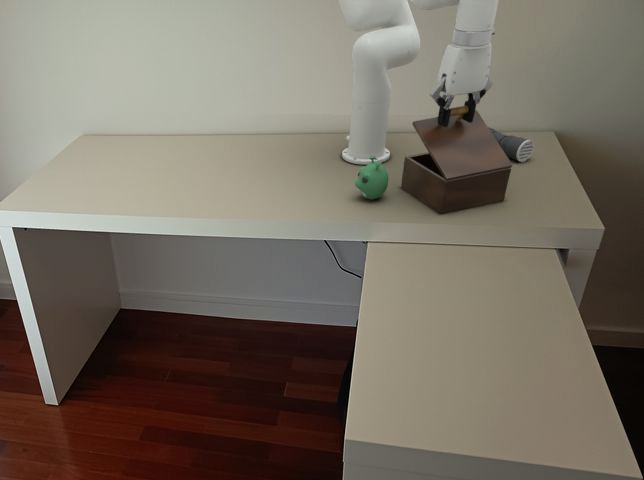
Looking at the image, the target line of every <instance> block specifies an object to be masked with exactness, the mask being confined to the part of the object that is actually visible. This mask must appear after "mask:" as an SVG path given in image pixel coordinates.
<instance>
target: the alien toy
mask: <svg viewBox="0 0 644 480" xmlns="http://www.w3.org/2000/svg"><path fill="white" fill-rule="evenodd" d="M369 159H370V160H372V164H368V165H364V166H362V167H360V169H359V172H358V173H357V177H358V178H357V179H356V180H355V181H354V185H355V187H356V188H357V189H358V190H359V191H360V194H361V196H362V197H363V198H365V199H367V200H376V199H378V198H381V197H382V196H383V195H384V194H385V192H386V191H387V189H388V186H389V179H390V178H389V173H388V171H387V169H386V167H385V166H384V165H383V162H382V163H381V162H380V161H376V162H375V163H374V159H376V157H375V156H371V157H369Z"/></svg>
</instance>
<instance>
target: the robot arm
mask: <svg viewBox="0 0 644 480" xmlns="http://www.w3.org/2000/svg"><path fill="white" fill-rule="evenodd" d="M337 2H338V4H339V8H340V10H341V13H342V16H343V18H344V22H345V23H346V25H347V27H348V28H349V30H351V31H352V32H362V31H363V32H364V31H368V30H371V31H368V32H366V33H364V34H362V35H361V36H359V37H358V38H357V39H356V40H355V42H354V43H353V46H352V50H351V64H352V72H353V73H352V76H353V81H352V83H353V85H352V98H351V99H352V100H351V111H350V112H351V113H350V124H349V135H346V137H345V140H346V141H347V142H348V146H347V147H346V148H344V149H343V150H342V152H341V158H342V159H343V160H344V161H346V162H348V163H350V164H353V165H354V164H355V165H361V166H363V165H364V166H367V165H368V164H372V160H370V159H369V157H371V156H375V157H376V159H374V163H375V162H376V161H380V162H381V163H382V164H383V163H385V162H386V161H388V160H390V157H391V152H390V150H389V149H388V148H387V147H386V139H387V132H388V131H387V130H388V121H389V115H390V114H389V113H390V107H391V105H390V104H391V96H392V85H391V82H390V81H391V80H390V79H389V77H388V74H387V71H388V70H392V69H395V68H399V67H402V66H406V65H408V64H410V63H412V62H414V60H415V59H417V57H418V55H419V53H420V50H421V37H420V33H419V30H418V26H417V24H416V21H415V18H414V16H413V12H412V10H411V6H410V4H409V0H337ZM410 2H411V3H412V4H413V5H415V6H416V7H417V8H420V9H421V10H424V11H433V10H438V9H443V8H447V7H453V6H457V10H456V16H455V22H454V27H453V33H452V38H451V43H449V44H447V46H446V48H445V50H444V54H443V56H442V60H441V62H440V66H439V70H438V74H437V79H436V83H435V86H434V87H433V88H432V90H430V91H429V96H430V97H431V98H432V100H434V102H435V103H436V104H437V106H438V108H439V109H438V113H437V114H438V115H437V117H438V124H439V125H441V126H443V127H447V126H448V124H449V119H450V114H451V109H449V108H451V105H452V103H453V101H454V98H455V96H462V95H467V100H465V101H464V105H467V106H468V107H469V111H468V113H466V114H464V116H463V117H462V119H463V120H465V121H467V122H469V123H471V122H473V117H474V113H475V110H477V109H476V108H477V105H479V104H480V103H481V99H482V98H484V96H485V95H486V93H487V92H489V90H490V89H491V88H492V87H493V85H494V83H493V81H492V80H491V78H490V76H489V75H490V69H491V62H492V50H493V49H492V48H493V47H492V43H491V39H492V36H494V35H495V34H496V28H495V27H494V24H495V20H496V15H497V11H498V6H499V2H500V0H410ZM377 28H380V29H377ZM373 29H376V30H373ZM464 105H463V106H464Z"/></svg>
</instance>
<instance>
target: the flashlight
mask: <svg viewBox="0 0 644 480" xmlns="http://www.w3.org/2000/svg"><path fill="white" fill-rule="evenodd" d="M487 127H488V128H489V130H490V131H491V133H492V134H493V136H494V137H495V139H496V140H497V142H498V143H499V145H500V147H501V148H502V150H503V151H504V153H505V154H506V156H507V157H508V158H509V159H512V160H515V161H518V162H521V163H524V162H525V161H527V160H528V159H530V157H531V156H532V154H533V152H534V149H535V143H534V141H533V140H531V139H528V138H524V137H522V136H521V137H518V136H515V135H512V134H511V135H507V134H505V133H502V132H500V131H497V130H496V129H494V128H492V127H489V126H487Z"/></svg>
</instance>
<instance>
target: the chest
mask: <svg viewBox="0 0 644 480" xmlns="http://www.w3.org/2000/svg"><path fill="white" fill-rule="evenodd" d="M511 172H512V167H511V168H507V169H502V170H497V171H492V172H487V173H482V174H477V175H473V176H468V177H463V178H458V179H453V180H448V181H445V179H444V177H443V176H442V174H441V172H440V171H439V169H438V167H437V166H436V164H435V162H434V160H433V159H432V157H431V155H430V154H429V152H428V151H427V152H423V153H418V154H412V155H408V156H405V157H404V162H403V169H402V176H401V184H400V188H401V189H403V191H405V192H407V193H408V194H410V195H411V196H413V197H414V198H415V199H417V200H419V201H420V202H422V203H423V204H424V205H425V206H427V207H429V208H431V209H432V210H433V211H435V213H437V214H439V215H443V214H448V213H453V212H457V211H462V210H467V209H471V208H477V207H480V206H486V205H490V204H494V203H499V202H504V201H505V196H506V192H507V190H508V189H507V188H508V183H509V180H510V175H511Z"/></svg>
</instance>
